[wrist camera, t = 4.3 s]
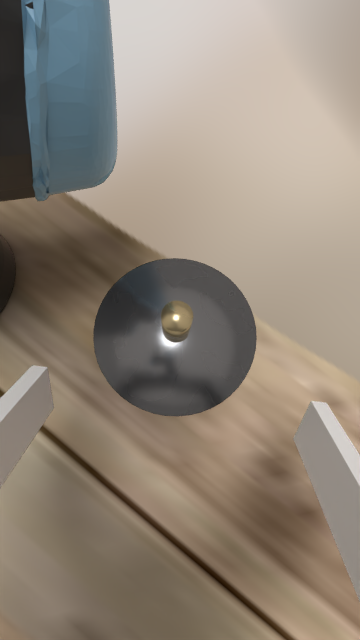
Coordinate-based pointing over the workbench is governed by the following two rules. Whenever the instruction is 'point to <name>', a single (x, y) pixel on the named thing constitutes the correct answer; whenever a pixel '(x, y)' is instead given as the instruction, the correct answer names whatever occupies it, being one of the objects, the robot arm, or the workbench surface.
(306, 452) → the robot arm
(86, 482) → the workbench surface
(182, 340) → the motor housing
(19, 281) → the workbench surface
